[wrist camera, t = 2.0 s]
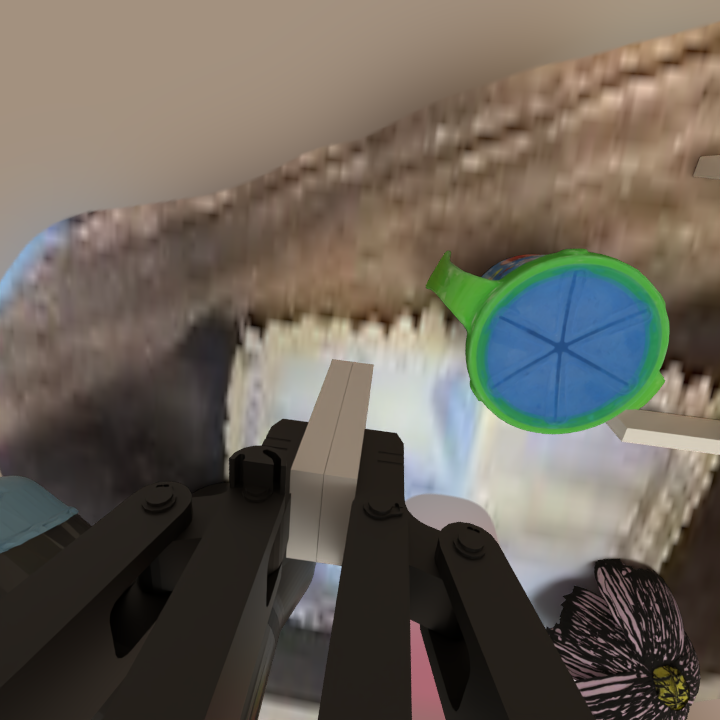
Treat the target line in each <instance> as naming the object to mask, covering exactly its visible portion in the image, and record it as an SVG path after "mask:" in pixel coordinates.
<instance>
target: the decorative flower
mask: <svg viewBox="0 0 720 720" xmlns="http://www.w3.org/2000/svg"><path fill="white" fill-rule="evenodd" d="M639 569H640V568H639ZM639 569H638V570H635V569H633V567H632V566H627V565H625V564H623V563H622V562H621V560H620V559H603V560H598V562H596V564H595V570H594V573H595V578H596V580H597V583H598V587H599V590H600V593H601V594H602V596H603V598H602V597H601V596H599V595H597V594H595V593H593V592H591V591H589V590H587V589H585V588H581V587H578V586H575V585H574V589H573V592H572V593H571V594H569V595H565V596H563V597H564V598H565V599H566V601H565V602H564V603H562V604H561V606H562V607H563V610H562V612H561V614H560V617H561V618H560V619H559V620H560V623H559V624H557V623H556V624H555V626H554V627H553V628H548V627H547V628H546V631H547V633H548V635H549V636H550V638H551V640H552V642H553V644H554V645H555V647H556V649H557V651H558V653H559V654H560V656H561V658H562V660H563V662H564V663H565V665H566V667H567V669H568V671H569V672H570V674H571V676H572V678H573V679H575V680H577V681H575V683H576V685H577V687H578V689H579V690H580V692H581V694H582V696H583V698H584V699H585V701H586V703H587V705H588V707H589V708H590V710H591V712H592V714H593V716H594V717H595V719H596V720H686V719H687V715H688V713H689V706H691V705H692V703H693V701H694V699H695V697H696V695H697V693H698V690H699V685H700V667H699V662H698V659H697V655H696V652H695V650H694V648H693V645H692V643H691V641H690V639H689V637H688V636H687V634H686V632H685V631H684V626H683V621H682V617H681V613H680V610H679V608H678V605H677V603H676V601H675V599H674V597H673V595H672V593H671V591H670V589H669V587H668V586H667V584H666V583H665V581H664V580H663V578H662V577H659V576H658V575H657V574H656V572H655V571H654V570H653V569H652V570H653V572H654V573H653V572H652V571H650V570H649V569H648V568H647V570H648V571H647V570H643V569H640V570H639Z"/></svg>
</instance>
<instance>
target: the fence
mask: <svg viewBox="0 0 720 720" xmlns="http://www.w3.org/2000/svg"><path fill="white" fill-rule="evenodd" d="M693 177H701V178H710V179H719V180H720V155H714V156H701V157H700V159H699V161H698V164H697V167H696V169H695V172H694V175H693ZM606 424H607V425H608V426H609V427H610V428H611V429H612V431H613V432H614V433H615V434H616V435H617V437H618V438H619V439H620V440H621V441H622V442H629V443H636V444H644V445H651V446H658V447H666V448H673V449H681V450H688V451H695V452H703V453H710V454H717V455H720V420H713V419H706V418H698V417H691V416H683V415H676V414H668V413H660V412H653V411H645V410H637V409H634V410H625V411H623V412H622V413H620V414H619V415H617V416H616V417H614V418H612V419H611V420H609V421H607V422H606Z"/></svg>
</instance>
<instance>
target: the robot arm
mask: <svg viewBox="0 0 720 720" xmlns="http://www.w3.org/2000/svg"><path fill="white" fill-rule="evenodd" d="M373 366H374V365H372V364H364V363H356V362H349V361H341V360H334V359H332V362H331V365H330V367H329V370H328V373H327V375H326V378H325V380H324V383H323V386H322V388H321V391H320V394H319V396H318V399H317V402H316V404H315V407H314V409H313V412H312V415H311V417H310V420H309V422H303V421H296V420H288V419H282V420H280V421H279V422H277V423H276V424H275V425H273V426H272V427H271V429H270V431H269V433H268V434H267V436H266V439H265V440H264V442H263V444H262V446H251V447H246V448H243V449H241V450H239V451H237V452H235V453H234V454H233V455H232V456H231V457H230V458H229V482H230V483H219V484H214V485H210V486H207V487H204V488H202V489H200V490H198V491H196V492H194V493H193V494H191V492H190V490H189V489H188V487H186V486H184V485H183V484H181V483H177V482H171V481H167V482H157V483H154V484H151V485H147V486H145V487H143V488H142V489H140V490H138V491H137V492H135V493H134V494H132V495H131V496H130V497H129V498H127V499H126V500H125V501H124V502H122V503H121V504H120V505H119V506H117V507H116V508H115V509H114V510H112V511H111V512H110V513H108V514H107V515H106V516H105V517H103V518H102V519H101V520H100V521H98V522H97V523H96V524H95V525H93V526H91V525H90V524H88V523H87V522H86V521H85V520H84V519H83V518H81V517H80V516H79V515H78V514H77V513H78V512H79V511H78V510H77V509H76V508H75V507H71V506H69V507H68V506H67V505H65V504H64V503H63V502H61V501H60V500H59V499H57V498H56V497H55V496H53V495H52V494H51V493H49V492H48V491H47V490H45V489H44V488H43V487H41V486H40V485H39V484H37V483H36V482H35V481H33V480H31V479H29V478H26V477H23V476H4V477H0V720H258V717H259V713H260V709H261V705H262V701H263V697H264V693H265V689H266V685H267V681H268V677H269V673H270V669H271V665H272V661H273V657H274V653H275V649H276V645H277V642H278V638H279V634H280V631H281V629H282V628H283V626H284V625H285V623H286V621H287V620H288V618H289V617H290V615H291V614H292V612H293V611H294V609H295V607H296V606H297V604H298V603H299V601H300V600H301V598H302V597H303V595H304V593H305V592H306V590H307V589H308V587H309V585H310V583H311V581H312V578H313V575H314V571H315V566H316V562H319V563H326V564H333V565H339V566H342V569H341V575H340V581H339V588H338V594H337V600H336V607H335V613H334V620H333V626H332V632H331V639H330V645H329V652H328V658H327V664H326V671H325V677H324V683H323V690H322V696H321V703H320V709H319V715H318V720H412V711H411V710H412V708H411V707H412V706H411V705H412V704H411V655H410V654H411V652H410V651H411V650H410V620H412V621H415V622H417V623H419V624H420V630H421V634H422V637H423V641H424V644H425V648H426V651H427V655H428V658H429V662H430V665H431V669H432V673H433V676H434V679H435V683H436V687H437V690H438V694H439V697H440V701H441V704H442V708H443V712H444V715H445V719H446V720H596V719H595V717H594V716H593V714H592V712H591V710H590V708H589V707H588V705H587V703H586V701H585V699H584V698H583V696H582V694H581V692H580V690H579V689H578V687H577V685H576V683H575V681H574V680H573V678H572V676H571V674H570V672H569V671H568V669H567V667H566V665H565V663H564V662H563V660H562V658H561V656H560V654H559V653H558V651H557V649H556V647H555V645H554V644H553V642H552V640H551V638H550V636H549V635H548V633H547V631H546V629H545V627H544V626H543V624H542V622H541V620H540V618H539V616H538V615H537V613H536V611H535V609H534V607H533V606H532V604H531V602H530V600H529V598H528V597H527V595H526V593H525V591H524V589H523V588H522V586H521V584H520V582H519V580H518V579H517V577H516V575H515V573H514V571H513V570H512V568H511V566H510V564H509V562H508V561H507V559H506V557H505V555H504V553H503V552H502V550H501V548H500V546H499V544H498V543H497V542H496V541H495V539H494V538H493V537H492V535H491V534H489V533H488V532H486V531H485V530H484V529H482V528H480V527H478V526H475V525H473V524H470V523H463V522H456V523H451V524H448V525H447V526H445V527H444V528H443V529H442V530H441V531H439V530H437V529H434V528H432V527H430V526H427V525H425V524H423V523H421V522H420V521H418V520H417V519H416V518H415V517H413V516H412V515H411V513H410V512H409V511H408V510H407V507H406V505H405V500H404V444H403V442H402V441H401V439H400V437H399V436H398V434H397V433H391V432H384V431H377V430H369V429H365V428H366V420H367V412H368V405H369V397H370V389H371V381H372V374H373Z"/></svg>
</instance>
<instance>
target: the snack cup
mask: <svg viewBox="0 0 720 720" xmlns="http://www.w3.org/2000/svg"><path fill="white" fill-rule="evenodd" d="M450 257H451V252H450V251H446V252H445V253H444V255H443V257H442V258H441V260H440V261H439V263H438V265H437V266H436V268H435V270H434V271H433V273H432V275H431V276H430V278H429V280H428V282H427V284H426V288H427V289H431V290H432V291H433V292H435V293H436V294H437V295H438V297H439V298H440V299H441V300H442V301H443V303H444V304H445V305H446V306H447V307H448V308H449V310H450V311H451V312H452V313H453V314H454V315H455V316H456V318H457V319H458V320H459V321H460V322H461V323H462V324H463V326H464V327H465V328H466V330H467V338H466V350H465V354H466V364H467V369H468V373H469V377H470V387H471V390H472V391H473V393H474V394H475V396H476V398H477V399H478V401H482V402H483V403H484V404H485V405H486V407H487V408H488V409H489V410H491V411H492V412H493V413H494V414H495V415H496V416H497V417H498V418H500V419H501V420H503V421H505V422H506V423H508V424H510V425H512V426H515V427H517V428H520V429H523V430H526V431H531V432H536V433H542V434H564V433H572V432H577V431H582V430H586V429H589V428H592V427H595V426H598V425H600V424H602V423H605V422H607V421H609V420H611V419H612V418H614V417H616V416H617V415H619V414H620V413H622V412H623V411H625V410H634V409H637V410H639V409H640V408H641V407H643V406H644V405H645V404H646V403H647V402H648V401H649V400H650V399H651V398H652V397H653V396H654V395H655V394H656V393H657V392H658V390H659V389H660V388H661V387H662V385H663V384H664V382H665V380H664V377H663V376H662V375H661V373H660V371H659V370H660V368H661V366H662V364H663V361H664V359H665V355H666V351H667V347H668V342H669V333H670V332H669V320H668V316H667V312H666V309H665V302H664V300H663V297H662V296H661V294H660V292H659V291H657V290H656V288H655V287H654V286H653V284H652V283H651V282H650V281H649V280H648V279H647V278H646V277H645V276H644V275H642V274H641V273H640V271H638V270H637V269H635V268H633V267H632V266H630V265H628V264H626V263H624V262H622V261H620V260H618V259H615V258H612V257H609V256H606V255H602V254H597V253H592V252H588V251H587V250H586V249H565V250H561V251H559V252H557V253H553V254H548V255H535V254H529V255H519V256H515V257H511V258H508V259H505V260H503V261H501V262H499V263H498V264H496V265H494V266H493V267H491V268H490V269H489V270H488V271H487V272H486V273H485V274H484V275H483V276H482V277H478V276H475V275H472V274H470V273H467V272H464V271H463V270H461V269H460V268H459V267H457V266H456V265H454V264H453V263H452V262H451V261H450Z"/></svg>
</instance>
